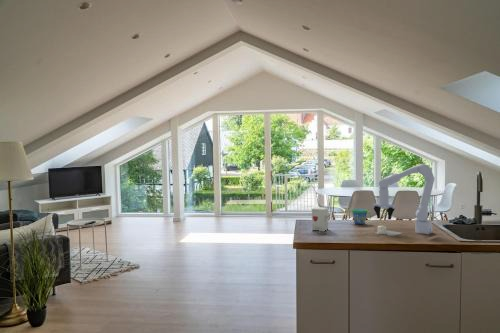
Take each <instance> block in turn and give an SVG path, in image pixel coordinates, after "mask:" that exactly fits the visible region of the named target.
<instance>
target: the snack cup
mask: <svg viewBox="0 0 500 333" xmlns="http://www.w3.org/2000/svg"><path fill="white" fill-rule="evenodd" d="M351 213H352V216H353V222H354V224H355V225H364V224H366V220H367V219H366V218H367V214H368V215H369V219H372V215H371V212H370V211H369V210H368V209H365V208H353V209H352V210H349V212H348V219H351Z"/></svg>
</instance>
